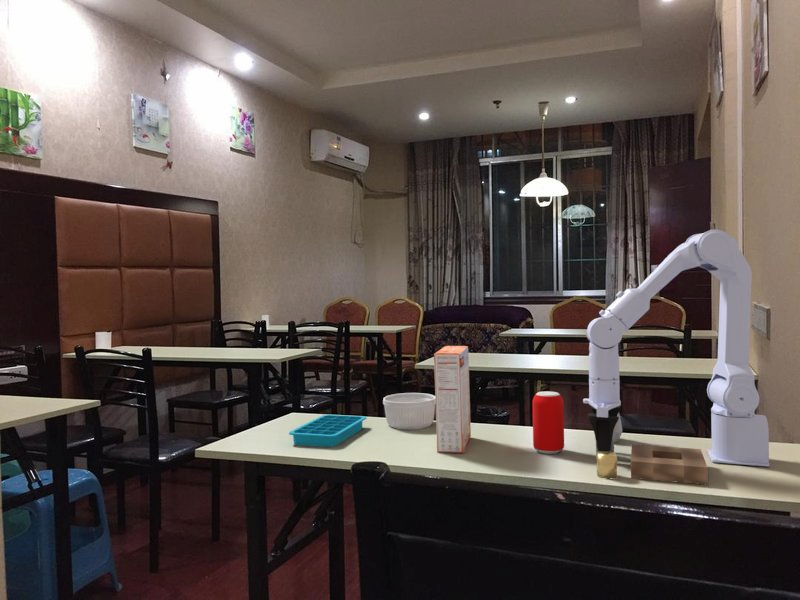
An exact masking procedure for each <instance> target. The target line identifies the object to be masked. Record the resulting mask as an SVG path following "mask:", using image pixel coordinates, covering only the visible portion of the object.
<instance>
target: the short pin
mask: <svg viewBox="0 0 800 600" xmlns="http://www.w3.org/2000/svg"><path fill="white" fill-rule="evenodd" d="M596 476H597V477H598V478H599V479H603V478H607V479H606V480H611V479H610V478H615V479H617V478H618V454H617V453H616V452H615V451H614V452H609V451H600V452H597V456H596Z"/></svg>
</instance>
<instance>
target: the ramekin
mask: <svg viewBox="0 0 800 600" xmlns="http://www.w3.org/2000/svg"><path fill="white" fill-rule="evenodd" d="M382 404H383V406H384V407H383V408H384V414H385V418H386V423H387V424H388V426H389V427H390V428H392V429H396V430H397V429H398V430H404V431H405V430H407V431H408V430H410V431H411V430H420V429H426V428H428V427H431V425H433V423H434V421H435V420H434V419H435V413H436V399H435V394H434V395H433V394H430V393H423V392H422V393H421V392H404V393H395V394H394V393H393V394H390V395H389V394H388V395H386V396H385V397H383V400H382Z"/></svg>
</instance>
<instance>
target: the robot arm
mask: <svg viewBox="0 0 800 600" xmlns="http://www.w3.org/2000/svg"><path fill="white" fill-rule="evenodd" d="M697 267H699V268H701V269H704V270H707V272H709V273H710V274H711V275H713V277H715V279H717V280H718V281H719V283H720V284H719V305H718V306H719V309H718V335H717V336H718V337H717V338H718V339H717V343H718V344H717V361H716V363H715V365H714V367H713V368H712V376H711V380H709V382H708V384H707V388H706V393H707V397H708V398H709V400H710V401H711V402H712V403H713V404H712V407H711V408H710V412H711V413H710V414H711V415H710V416H711V422H710V423H711V425H710V426H711V448H710V449H709V448H708V449H707V453H708V456H709V459H710V461H711V462H712V463H720V464H730V465H731V464H732V465H746V466H754V467H755V466H757V467H770V445H769V444H770V442H769V441H770V440H769V439H770V437H769V436H770V435H769V433H770V432H769V431H770V430H769V423H768V419H767V416H766V415H764V414H755V411H756V410H757V408H758V406H759V405H760V395H759V392H758V390H757V387H756V385H755V380H756V379H755V375H754V372H753V371H752V369H751V366H750V365H749V362H750V361H749V360H750V356H749V355H750V337H751V336H750V335H751V334H750V329H751V309H752V307H751V302H752V281H753V280H752V278H753V277H752V275H753V274H752V273H753V272H752V268H751V267H750V265H749V263H748V261H747V260H746V257H745V256H744V254H743V253H742V251H741V249H740V246H739V241H738V240H737V239H736V238H734V237H733V236H731V235H730V234H729V233H727V232H726V231H723V230H721V229H710V230H707V231H705V232H703V233H702V232H701V233H695V234H693V235H690V236H689V237H688V238H686V241H684V242H683V243H681V244H679V245H678V246H676V248H675V249H674V250H673V251H672V252H670V253H669V254H668V255H667V257H665V258H664V259H663V261H662V262H661V263H660V264H659V265H657V266H656V268H655V269H654V270H653V271H652V272H651V273H650V274H649V275H648V276H647V277H646V278H645V280H643V281H642V283H641V284H640V285H638V286H637V288H636V287H635V288H626V289H625V290H624V291H622V290H619V291H618V292H617V293H616V295H615V297H616V299H615V300H613V302H611V304H610V305H609V306H608V307H607V308H606V309H605V310H604V309H601V310H600V311H599V315H600V317H597V318H594V319H593V320H591V321H590V322H589V324H588V326H587V329H586V330H585V335H586V338H587V340H588V341H589V343H588V344H589V346H588V351H589V354H588V386H589V387H588V392H589V393H588V398H583V399H582V402H583V404H588V405H589V406H591V407H590V409H591V411H592V412H591V413H589V412H588V413H587V419H588V421H589V423H590V425H591V427H592V431H593V433H594V438H595V445H596V444H597V448H598V451H610V448H611V443H612V436H613V431H614V428H615V425H616V423H617V421H618V419H619V417H617V415H618V413H619V414H620V411H621V406H622V404H621V403H622V401H621V399H620V398H621V397H620V396H621V395H620V392H621V391H620V389H621V388H620V387H621V386H620V355H619V344H620V342H621V341H622V338H623V332H627V331H628V330H629V329H630V328H631V327H633V326H634V325H635V324H636V323H637V322H638V321H639V319H640V318H642V317H643V316H644V315H645V314H646V313H647V312H648V311H649V310H650V306H651V305H650V303H651V302H650V301H651V299H652V298H653V297H654V296H655V295H656V294H658V293H659V292H660V291H661V290H662V289H663V288H664V287H666V286H667V285H668V284H670V282H671V281H673V279H674V278H676V277H677V276H678V275H679V274H680V273H681V272H683V271H686V270H690V269H694V268H697Z"/></svg>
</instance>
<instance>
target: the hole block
mask: <svg viewBox="0 0 800 600" xmlns="http://www.w3.org/2000/svg"><path fill="white" fill-rule="evenodd" d="M630 451H631V452H630V453H631V456H630V478H631V479H635V478H642V479H641V480H646V479H653V480H652V481H656V480H661V481H660V482H667V481H677V482H676V483H678V482H685V483H684V484H688V483H695V484H694V485H699V484H706V485H705V486H708V484H709V483H708V482H709V481H708V479H709V478H708V475H709V473H708V466H707V462H706V460H705V457H704V455H703V452H702V449H700V448H693V447H692V448H691V447H690V448H689V447H688V448H687V447H678V446H675V447H674V446H666V445H665V446H661V445H652V444H651V445H650V444H636V443H631V449H630ZM697 483H698V484H697Z"/></svg>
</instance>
